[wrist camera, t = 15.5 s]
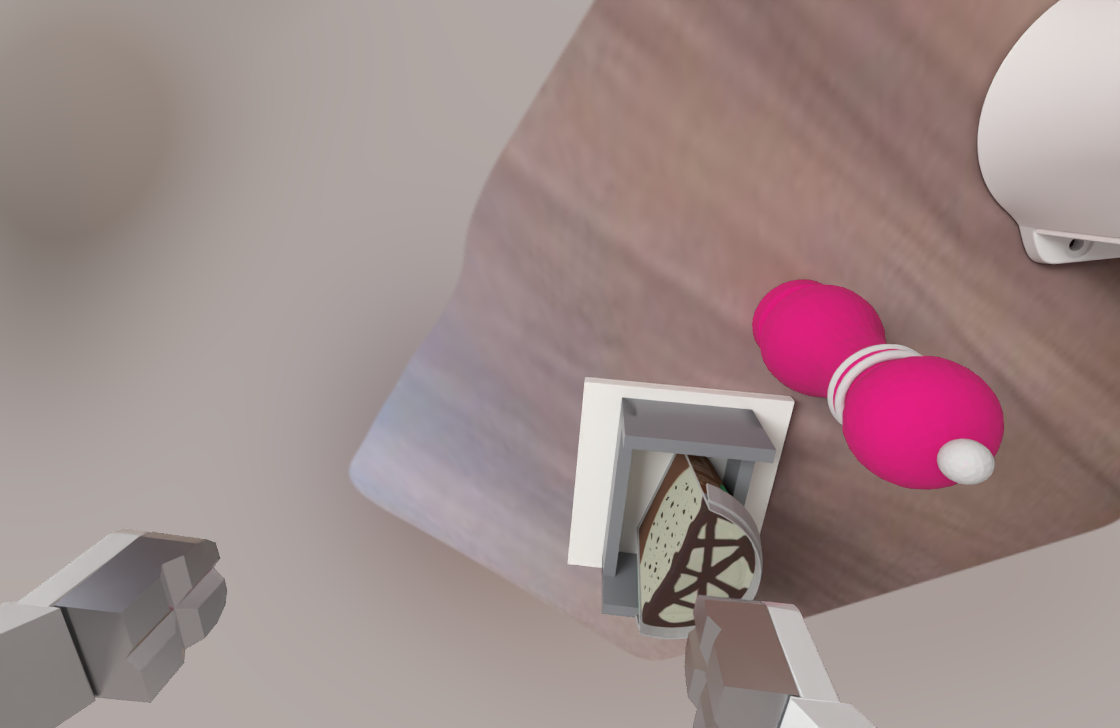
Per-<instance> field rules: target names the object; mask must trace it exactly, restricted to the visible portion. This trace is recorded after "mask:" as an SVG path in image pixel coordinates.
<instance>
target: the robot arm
mask: <svg viewBox="0 0 1120 728" xmlns="http://www.w3.org/2000/svg"><path fill="white" fill-rule="evenodd" d="M978 157H979V164H980V168H981V172H982V175H983V178H984V180H985V183H986V185H987V187H988V189H989V190H990V192H991V194H992V195H993V197H994V198H995V199H996V201H997V202H998V203H999V204H1000V205H1001V206H1002V207H1003V208H1004V209H1005V210H1006V211H1007V212H1008V213H1009V214H1010V215H1011V216H1012V217H1013V218H1014V219H1015V221H1016V222H1017V224H1018V225H1019V228H1020V232H1021V236H1022V240H1023V244H1024V247H1025V250H1026V252H1027V254H1028V256H1029V257H1030V258H1031V259H1032V260H1033V261H1035V262H1038V263H1046V264H1061V263H1071V262H1081V261H1091V260H1100V259H1110V258H1120V0H1060V1H1059V2H1057V3H1056V4H1055V5H1053V6H1052V7H1051V8H1050V9H1049V10H1047V11H1046V12H1045V13H1044V14H1043V15H1042V16H1041V17H1039V18H1038V19H1037V20H1036V21H1035V22H1034V23H1033V24H1032V25H1031V26H1030V28H1029V29H1028V30H1027V31H1026V32H1025V33H1024V34H1023V35H1022V37H1021V38H1020V39H1019V40H1018V41H1017V43H1016V44H1015V45H1014V47H1013V48H1012V49H1011V51H1010V52H1009V54H1008V55H1007V57H1006V58H1005V60H1004V61H1003V63H1002V65H1001V66H1000V68H999V70H998V72H997V73H996V75H995V77H994V79H993V81H992V84H991V86H990V88H989V91H988V93H987V96H986V99H985V102H984V105H983V109H982V113H981V117H980V122H979V128H978ZM1073 239H1075V242H1074V244H1073V246H1072V247H1070V248H1069V244H1070V242H1071V241H1072V240H1073ZM219 559H220V556H219V553H218V549H217V546H216V543H215V542H212V541H209V540H206V539H200V538H193V537H185V536H178V535H171V534H164V533H157V532H145V531H138V530H131V529H122V530H118V531H115V532H112V533H110V534H109V535H107V536H106V537H105V538H103V539H102V540H100V541H99V542H98V543H96V544H95V545H94V546H92V547H91V548H90V549H88V550H87V551H86V552H84V553H83V554H82V555H80V556H79V557H78V558H77V559H75V560H74V561H72V562H71V563H70V564H68V565H67V566H66V567H64V568H63V569H62V570H60V571H59V572H57V573H56V574H55V575H53V576H52V577H51V578H50V579H48V580H47V581H45V582H44V583H43V584H41V585H40V586H39V587H37V588H36V589H35V590H33V591H32V592H31V593H29V594H28V595H26V596H25V597H24V598H22V599H21V600H20V601H18V602H5V603H2V604H0V728H55V727H56V726H58V725H60V724H61V723H63V722H64V721H65V720H67V719H69V718H70V717H72V716H73V715H75V714H76V713H78V712H79V711H81V710H82V709H84V708H85V707H87V706H88V705H90V704H91V703H93V702H94V701H95V697H97V698H107V699H117V700H129V701H138V702H149V703H151V701H152V700H153V699H154V698H155V697H156V696H157V694H158V693H159V692H160V691H161V690H162V688H163V687H164V686H165V685H166V684H167V683H168V681H169V680H170V679H171V678H172V677H173V675H174V674H175V673H176V672H177V671H178V670H179V668H180V667H181V666H182V665H183V664H184V658H185V649H187V648H188V647H190V646H192V645H194V644H196V643H197V642H199V641H201V640H202V639H204V638H205V637H206V636H207V635H208V634H209V632H210V631H211V630H212V629H213V627H214V626H215V625H216V624H217V622H218V620H219V618H220V615H221V613H222V611H223V609H224V606H225V603H226V595H227V588H226V583H225V579H224V578H223V577H222V576H221V574H220V573H219V572H218V571H217V570H216V569H215V568H214V566H215V565H216V563H217V562H218V561H219ZM693 616H694V621H695V626H696V627H695V628H694V629H693V630H692V631H690V632H689V633H688V638H687V643H686V649H685V677H686V686H687V693H688V698H689V699H690V700H691V702H692V703H693V704H694V705H695V707H696V708H697V711H696V715H695V719H694V723H693V728H877V727H876V726H875V725H873V724H872V723H871V722H870V721H869V720H868V719H867V718H866V717H865V716H864V715H863V714H862V713H861V712H859V711H858V710H857V709H856V708H855V707H854V706H853V705H852V704H848V703H841V702H840V699H839V697H838V695H837V693H836V691H835V688H834V686H833V684H832V682H831V679H830V677H829V675H828V673H827V670H826V668H825V666H824V664H823V662H822V659H821V657H820V655H819V653H818V650H817V648H816V646H815V644H814V641H813V639H812V637H811V635H810V633H809V631H808V628H807V626H806V624H805V621H804V619H803V617H802V615H801V612H800V610H799V609H798V608H797V607H796V606H795V605H794V604H786V603H776V602H766V601H762V602H760V601H755V600H745V599H735V598H726V597H716V596H706V595H699V596H698V597H697V599H696V601H695V606H694V610H693Z"/></svg>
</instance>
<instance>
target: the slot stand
mask: <svg viewBox="0 0 1120 728" xmlns="http://www.w3.org/2000/svg"><path fill="white" fill-rule="evenodd" d="M794 403H795V401H794V400H793V399H792V398H791V396H784V395H773V394H763V393H752V392H741V391H730V390H720V389H709V388H698V387H688V386H677V385H666V384H655V383H645V382H634V381H623V380H612V379H602V378H591V377H585V384H584V394H583V405H582V416H581V427H580V437H579V448H578V459H577V469H576V480H575V491H574V501H573V512H572V523H571V533H570V544H569V555H568V564H573V565H582V566H591V567H600V568H602V614H609V615H618V616H627V617H635V615H636V614H639V600H638V565H637V530H636V528H637V526H638V524H639V522H640V520H641V518H642V516H643V514H644V512H645V510H646V508H647V506H648V504H649V502H650V500H651V498H652V496H653V494H654V492H655V490H656V488H657V486H658V484H659V482H660V480H661V478H662V476H663V474H664V472H665V470H666V468H667V466H668V464H669V462H670V460H671V458H672V456H673V454H674V453H676V454H686V455H696V456H706V457H707V458H708V459H709V460H710V461H711V463H712V465H713V466H714V468H715V470H716V472H717V474H718V476H719V477H720V479H721V481H722V483H723V485H724V487H725V489H726V490H727V492H728V494H730V495H731V496H733V497H734V498H735V499H736V500H737V501H739V502H740V503H741V504H742V505H743V506H744V507H745V509H746V510H747V511H748V512H749V513H750V515H751V516H752V518H753V520H754V522H755V523H756V525H757V528H758V531H759V534H760V532H761V528H762V524H763V520H764V517H765V513H766V509H767V505H768V501H769V498H770V494H771V490H772V486H773V482H774V479H775V475H776V471H777V467H778V463H779V460H780V456H781V452H782V448H783V444H784V441H785V437H786V433H787V429H788V425H789V422H790V418H791V414H792V410H793V406H794Z"/></svg>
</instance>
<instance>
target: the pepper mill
mask: <svg viewBox="0 0 1120 728" xmlns="http://www.w3.org/2000/svg"><path fill="white" fill-rule="evenodd" d="M752 327H753V335H754V338H755V341H756V343H757V344H758V346H759V347H760V348H761V354H762V358H763V361H764V363H765V364H766V366H767V368H768V370H769V371H770V372H771V373H772V374H773V375H774V376H775V377H776V378H777V379H778V380H779V381H780V382H781V383H783V384H784V385H785V386H787V387H789V388H790V389H792V390H794V391H797V392H799V393H802V394H805V395H808V396H814V397H824V398H827V399H828V405H829V408H830V410H831V413H832V415H833V416H834V418H835V419H836V420H837V421H838V422H839V423H840V424H841V425H842V428H843V434H844V436H845V439H846V441H847V444H848V446H849V449H850V450H851V451H852V453H853V454H854V456H855V457H856V458H857V460H858V461H859V462H860V463H861V464H862V465H864V466H865V467H866V468H867V469H868V470H869V471H871V472H872V473H874V474H875V475H877V476H878V477H880V478H881V479H883V480H886V481H888V482H891V483H893V484H896V485H899V486H901V487H905V488H910V489H939V488H944V487H948V486H952V485H955V484H958V483H960V484H965V485H973V484H978V483H981V482H983V481H985V480H987V479H988V478H989V477H990V475H991V474H992V473H993V470H994V466H995V462H994V458H993V457H994V456H995V455H996V453H997V451H998V449H999V446H1000V444H1001V441H1002V438H1003V432H1004V420H1003V411H1002V408H1001V405H1000V402H999V400H998V398H997V397H996V395H995V393H994V392H993V391H992V390H991V388H990V387H989V386H988V385H987V384H986V383H985V382H984V381H983V380H982V379H981V378H980V377H979V376H978V375H976V374H975V373H974V372H972V371H971V370H969V369H968V368H966V367H964V366H962V365H960V364H957V363H955V362H953V361H950V360H947V359H944V358H940V357H933V356H923V355H921V354H919V353H918V352H916V351H914V350H912V349H911V348H908V347H905V346H902V345H898V344H887V343H886V340H885V330H884V327H883V325H882V322H881V320H880V318H879V316H878V314H877V313H876V311H875V310H874V308H873V307H872V306H871V305H870V304H869V303H868V302H867V301H866V300H865V299H863V298H862V297H861V296H859V295H858V294H856V293H854V292H853V291H851V290H849V289H846V288H844V287H839V286H834V285H823V284H822V283H819V282H817V281H813V280H794V281H789V282H786V283H784V284H781V285H779V286H778V287H776V288H774V289H773V290H771V291H770V292H769V293H768V294H767V295H766V296H765V297H764V298H763V299H762V300H761V301H760V303H759V305H758V307H757V309H756V310H755V314H754V317H753V323H752Z"/></svg>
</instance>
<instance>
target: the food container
mask: <svg viewBox="0 0 1120 728" xmlns="http://www.w3.org/2000/svg"><path fill="white" fill-rule="evenodd" d="M636 530H637V565H638V600H639V614H636V615H635V617H636V622H637V627H638V629H639V630H640V635H644V636H648V637H653V638H660V639H685V638H688V633H689V632H690V631H692V630H693V629H694V628H695V627H696V626H695V621H694V616H693V610H694V606H695V601H696V599H697V597H698V596H699V595H706V596H716V597H726V598H735V599H745V600H753V599H754V597H755V595H756V593H757V590H758V587H759V584H760V579H761V576H762V569H763V558H762V548H761V539H760V534H759V531H758V528H757V525H756V523H755V522H754V520H753V518H752V516H751V515H750V513H749V512H748V511H747V510H746V509H745V507H744V506H743V505H742V504H741V503H740V502H739V501H737V500H736V499H735V498H734V497H733V496H731V495H730V494H728V492H727V490H726V489H725V487H724V485H723V483H722V481H721V479H720V477H719V476H718V474H717V472H716V470H715V468H714V466H713V465H712V463H711V461H710V460H709V459H708V458H707V457H706V456H696V455H686V454H676V453H674V454H673V456H672V458H671V460H670V462H669V464H668V466H667V468H666V470H665V472H664V474H663V476H662V478H661V480H660V482H659V484H658V486H657V488H656V490H655V492H654V494H653V496H652V498H651V500H650V502H649V504H648V506H647V508H646V510H645V512H644V514H643V516H642V518H641V520H640V522H639V524H638V526H637V528H636Z"/></svg>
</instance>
